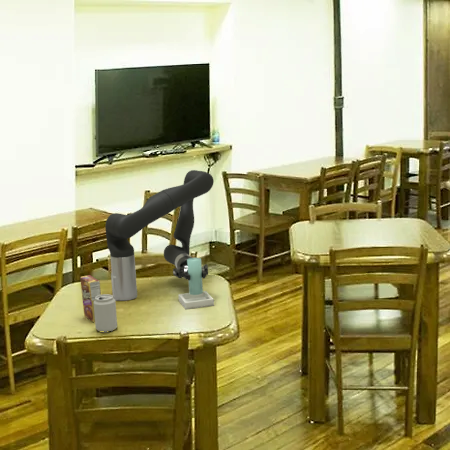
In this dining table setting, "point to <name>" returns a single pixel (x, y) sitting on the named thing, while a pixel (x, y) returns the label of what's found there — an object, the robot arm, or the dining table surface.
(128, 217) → the robot arm
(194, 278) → the pale green cylinder
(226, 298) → the dining table surface
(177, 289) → the dining table surface
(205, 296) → the tray
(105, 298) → the can
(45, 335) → the dining table surface
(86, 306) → the candy box
